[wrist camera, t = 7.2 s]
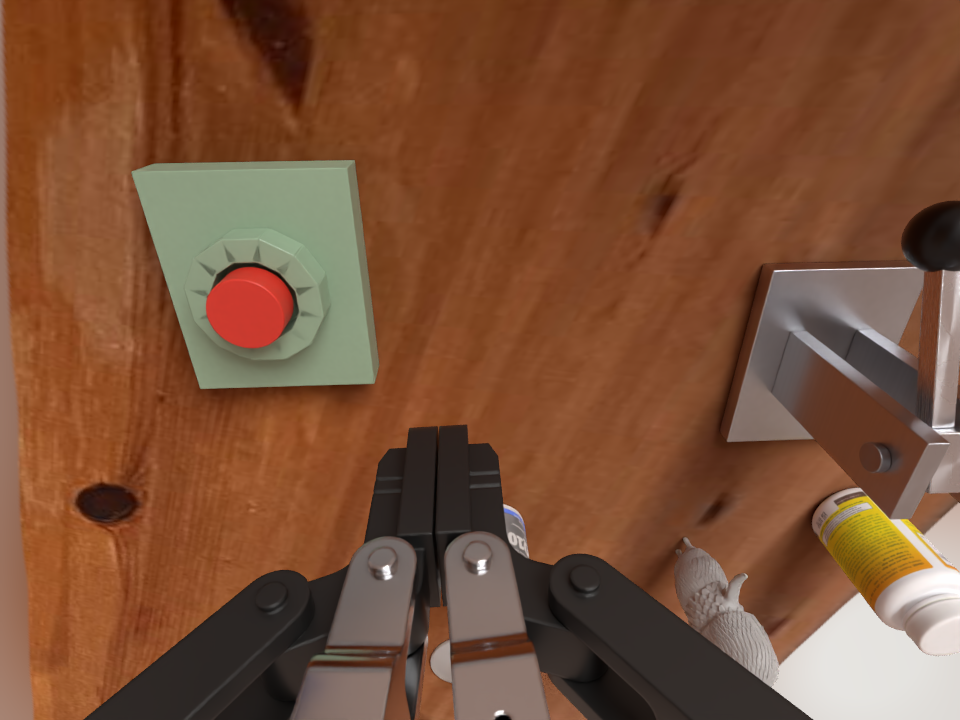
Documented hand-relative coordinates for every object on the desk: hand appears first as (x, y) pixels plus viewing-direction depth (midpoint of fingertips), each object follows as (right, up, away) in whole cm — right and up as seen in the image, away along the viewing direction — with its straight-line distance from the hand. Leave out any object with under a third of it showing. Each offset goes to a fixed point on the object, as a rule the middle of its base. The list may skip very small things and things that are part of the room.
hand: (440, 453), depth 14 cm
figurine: (+17, -12, +28) cm, 35 cm away
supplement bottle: (+29, -9, +27) cm, 41 cm away
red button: (-10, +5, +13) cm, 17 cm away
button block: (-10, +7, +16) cm, 20 cm away
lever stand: (+22, +3, +20) cm, 30 cm away
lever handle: (+22, +3, +12) cm, 25 cm away
